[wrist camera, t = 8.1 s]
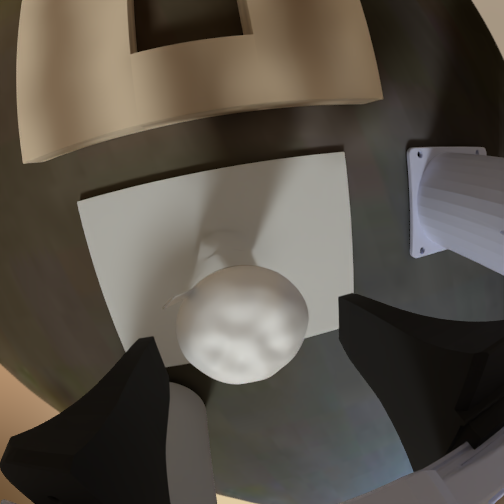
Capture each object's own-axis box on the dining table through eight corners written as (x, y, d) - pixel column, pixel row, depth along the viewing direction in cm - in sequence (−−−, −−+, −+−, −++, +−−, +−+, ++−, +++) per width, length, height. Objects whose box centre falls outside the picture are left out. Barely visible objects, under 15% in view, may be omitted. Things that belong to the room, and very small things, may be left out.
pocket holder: (318, -57, 12) (330, -74, 10) (362, 104, 17) (383, 99, 14) (41, -15, 10) (27, -29, 8) (43, 162, 14) (23, 163, 12)
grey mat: (341, 151, 17) (344, 151, 17) (351, 321, 21) (353, 324, 21) (79, 200, 16) (77, 201, 15) (135, 368, 19) (134, 371, 19)
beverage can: (117, 373, 19) (84, 516, 8) (202, 372, 20) (218, 525, 9) (135, 428, 21) (124, 550, 10) (209, 427, 22) (226, 553, 11)
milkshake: (210, 191, 16) (230, 235, 7) (276, 253, 18) (355, 349, 9) (156, 250, 17) (118, 356, 7) (223, 306, 19) (254, 432, 9)
